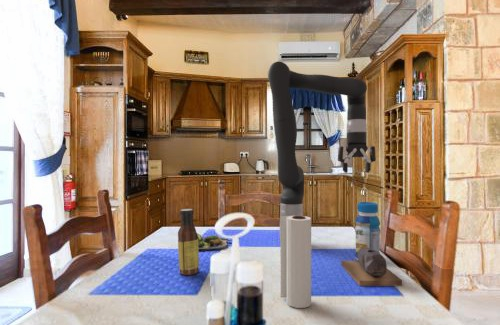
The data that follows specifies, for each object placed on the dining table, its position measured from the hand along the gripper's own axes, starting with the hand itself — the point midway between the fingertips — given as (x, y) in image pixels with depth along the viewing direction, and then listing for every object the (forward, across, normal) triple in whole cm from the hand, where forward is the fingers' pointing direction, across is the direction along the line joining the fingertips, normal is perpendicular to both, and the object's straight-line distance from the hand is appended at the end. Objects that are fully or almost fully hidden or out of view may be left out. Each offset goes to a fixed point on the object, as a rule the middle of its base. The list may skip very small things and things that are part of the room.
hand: (356, 172), depth 124 cm
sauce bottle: (+30, +62, +25) cm, 73 cm away
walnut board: (+30, +6, +28) cm, 42 cm away
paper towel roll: (+30, +31, +46) cm, 63 cm away
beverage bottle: (+30, +1, +14) cm, 33 cm away
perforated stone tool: (+29, +6, +29) cm, 41 cm away
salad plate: (+31, +61, -6) cm, 69 cm away
